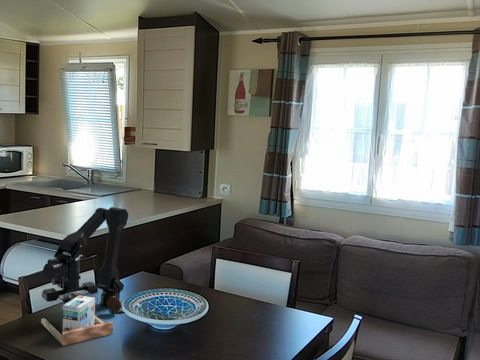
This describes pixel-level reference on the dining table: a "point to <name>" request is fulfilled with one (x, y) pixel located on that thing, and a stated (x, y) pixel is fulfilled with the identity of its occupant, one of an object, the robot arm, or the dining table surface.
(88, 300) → the light bulb box
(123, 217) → the robot arm
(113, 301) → the dark brown rounded lump
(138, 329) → the dining table surface
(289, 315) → the dining table surface
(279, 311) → the dining table surface
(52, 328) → the frame
